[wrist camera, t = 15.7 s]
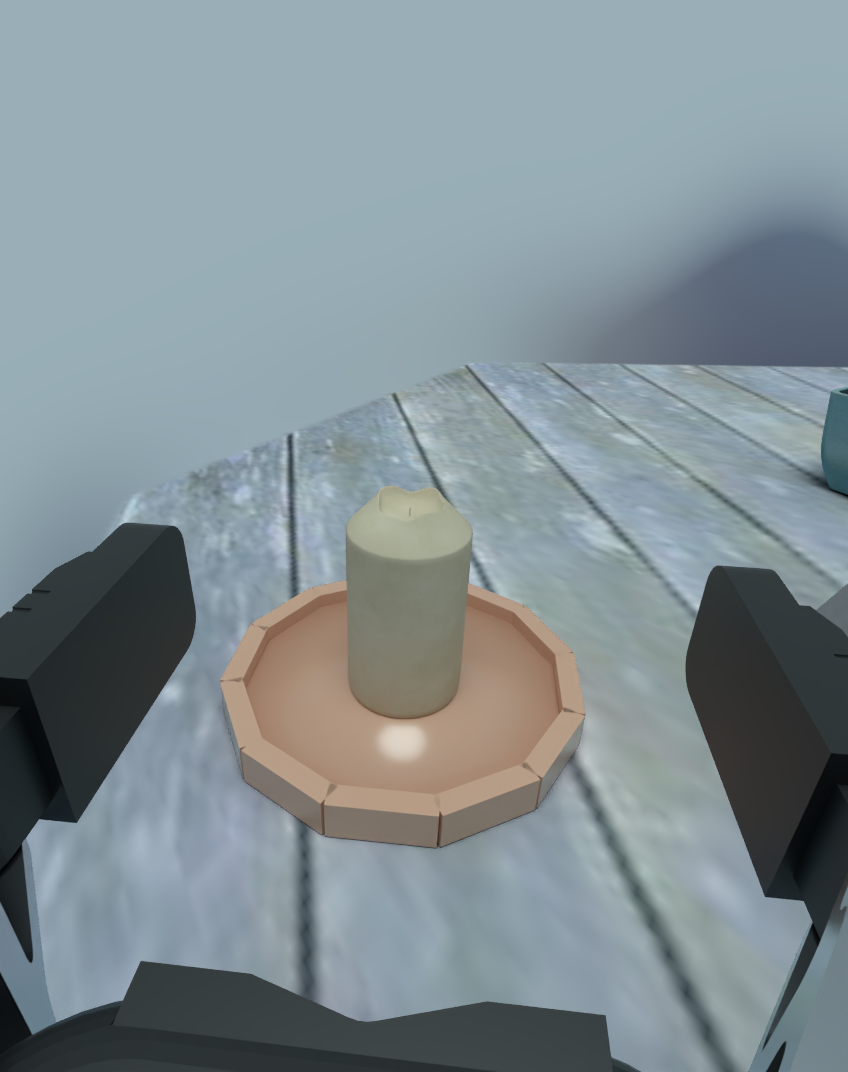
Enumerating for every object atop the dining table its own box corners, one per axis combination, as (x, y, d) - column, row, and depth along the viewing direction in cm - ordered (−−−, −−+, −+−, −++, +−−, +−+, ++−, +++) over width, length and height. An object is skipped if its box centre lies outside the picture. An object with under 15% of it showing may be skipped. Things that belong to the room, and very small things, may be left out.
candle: (324, 679, 32) (318, 495, 28) (403, 632, 36) (408, 462, 31) (404, 739, 29) (412, 541, 24) (481, 681, 33) (501, 499, 28)
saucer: (470, 578, 43) (472, 554, 42) (650, 764, 30) (659, 735, 29) (202, 636, 37) (198, 610, 36) (280, 910, 23) (277, 878, 22)
